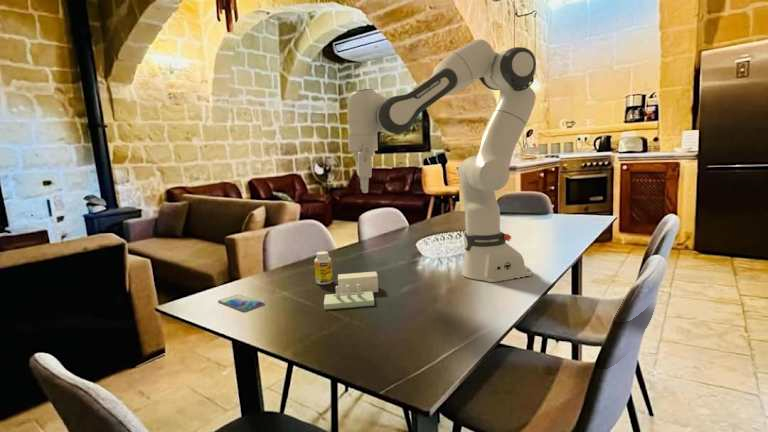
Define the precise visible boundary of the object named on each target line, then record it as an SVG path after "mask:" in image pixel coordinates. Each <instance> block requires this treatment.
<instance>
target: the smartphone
mask: <svg viewBox="0 0 768 432" xmlns="http://www.w3.org/2000/svg"><path fill="white" fill-rule="evenodd" d="M217 301H218V304H221V305H224V306H226V307H228V308H231V309H234V310H237V311H239V312H243V313H247V312H250V311H253V310H255V309H256V310H257V309H258V308H261V307H263V306H265V305H266V303H265V302H262V301H259V300H257V299H253V298H250V297H247V296H245V295H241V294H236V295H232V296H229V297H225V298H222V299H219V300H217Z"/></svg>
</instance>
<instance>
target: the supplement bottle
mask: <svg viewBox="0 0 768 432" xmlns="http://www.w3.org/2000/svg"><path fill="white" fill-rule="evenodd" d="M315 255H316V257H315V259H314V261H313V262H314V271H315V273H314V274H315V283H316V284H318V285H322V286H323V285H329V284H331V283H332V282H333V266H332V265H333V264H332V258H331V257H330V255H329V252H328V251H323V250H322V251H318V252H316V253H315Z"/></svg>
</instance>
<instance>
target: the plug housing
mask: <svg viewBox="0 0 768 432" xmlns="http://www.w3.org/2000/svg"><path fill="white" fill-rule="evenodd" d="M378 278H379V277H378V272H377V271H368V272H367V271H364V272H353V273H352V272H351V273H341V274H337V284H338V285H337V286H340V293H346V285H350V290H351V293H352V292H357V284H361V292H364V291H372V292H373V293H379V279H378Z"/></svg>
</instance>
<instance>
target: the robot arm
mask: <svg viewBox="0 0 768 432" xmlns="http://www.w3.org/2000/svg"><path fill="white" fill-rule="evenodd" d="M536 68H537V60H536V56H535V54H534V52H532V50H530V49H528V48H526V47H523V46H521V47H520V46H517V47H515V46H514V47H512V48H511V47H510V48H509V49H506V50H503V51H501V52H496V51H494V49H493V47H492V45H491V44H490V43H489V42H488V41H486V40H485V39H481V38H479V39H474V40H473V41H470V42H467V43H466V44H463V45H462V46H460V47H459V48H457V49H455V50H453V51H452V52H450V53H449V54H448V55H447V56H445V57H444V58H443V59H442V60H440V62H439V63H438V64H437V65H436V66H434V69H433V71H432V75H430V77H429V78H428V79H427V80H426V81H424V82H423V83H421V84H420V85H419V86H417V87H415V88H414V89H412V90H411V91H409V92H408V93H405V94H401V95H394V96H392V97H390V98H387V97H384V96H383V95H381V94H379V93H377V92H376V91H375V90H374V89H373V88H363V89H359V90H356V91H354V92H352V93H351V94H350V95H349V97H348V99H347V106H346V107H347V109H346V112H347V113H346V114H347V116H346V117H347V123H348V124H347V125H348V133H347V145H348V146H347V147H348V152H352V157H353V158H354V163H355V170H356V175H357V176H358V177H359V182H360V183H359V184H360V190H361V193H363V194H367V193H369V182H370V181H369V180H370V178H372V175H373V173H372V171H373V169H372V167H373V166H372V157H374V156H375V154H374V153H375V152H376V151H378V149H379V148H378V147H379V145H378V144H379V143H378V142H379V141H378V133H379V132H380V133H384V134H388V135H392V134H394V135H395V134H399V135H400V134H403V133H405V132H407V131H408V130H410V129H411V128H412V126H414V124H415V122H416V120H417V118H418V117H419V115H420V114H421V113H422V112H423V111H425V110H426V109H428V108H429V107H430V106H431V105H433V104H434V103H436V102H437V101H439V100H440V99H441V98H443V97H446V96H452V95H455V94H457V93H459V92H461V91H462V90H464V89H466V88H468V87H469V86H470V85H472V84H473V83H475V82H476V81H477V80H479V81H480V82H481V84H482V85H484V87H486V88H487V89H489V90H493V91H499V99H498V103H497V104H496V105H495V108H494V110H493V111H492V114H491V115H490V117H489V119H488V121H487V124H486V126H485V128H484V130H483V132H482V135H481V136H482V139H481V144H480V145H479V146H480V147H479V150H478V153H477V155H474V156H473V155H472V156H469V157H467V158H465V159H464V160H463V161H462V162H461V163H460V164H459V166H458V169H457V176H458V179H459V182H460V183H459V184H460V190H461V195H462V200H463V206H464V217H465V219H464V222H465V223H464V225H465V232H464V236H463V245H464V250H465V252H464V261H463V266H462V267H463V268H462V269H461V275H462V276H463V277H465V278H468V279H472V280H476V281H477V280H479V281H485V282H489V283H495V282H503V280H504V281H509V279H510V280H515V279H514V278H517V279H521V278H520V277H523V278H526V277H525V276H529V275H532V276H533V271H532V269H530V267H528V266H526V264H525V260H524V257H523V255H522V253H520V252H519V251H517V250H516V249H515V248H513V246H511V245H509V244H508V243H507V242H509V241H511V240H512V236H511V235H510V234H509V233H504V232H502V231H501V210H500V206H499V203H498V201H497V197H496V191H499V190H501V189H503V188H504V187H505V186H506V185H507V184H508V182H509V179H510V166H511V162H512V161H511V160H512V158H513V154H514V151H515V149H516V147H517V144H518V142H519V140H520V138H521V135H522V134H523V132H524V130H525V127H526V125H527V124H528V121H529V119H530V117H531V114H532V112H533V108H534V106H535V103H536V96H537V95H536V93H535V91H534V90H533V88H532V87H531V85H532V84H533V83H534V79H535V78H534V77H535V73H536ZM529 277H530V276H529Z"/></svg>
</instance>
